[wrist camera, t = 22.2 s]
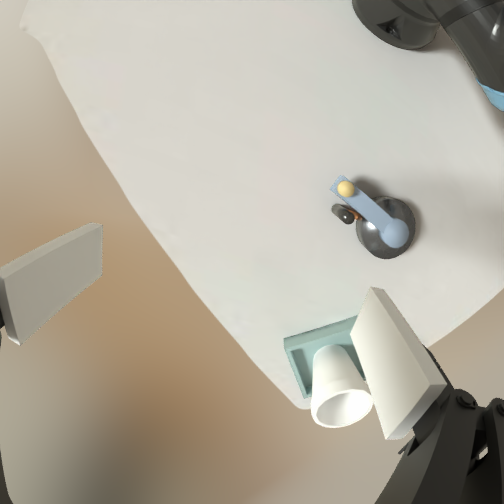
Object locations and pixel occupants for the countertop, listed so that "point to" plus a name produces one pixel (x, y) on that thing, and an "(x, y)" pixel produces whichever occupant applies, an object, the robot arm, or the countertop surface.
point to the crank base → (370, 233)
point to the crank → (372, 213)
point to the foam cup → (338, 389)
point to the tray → (310, 342)
